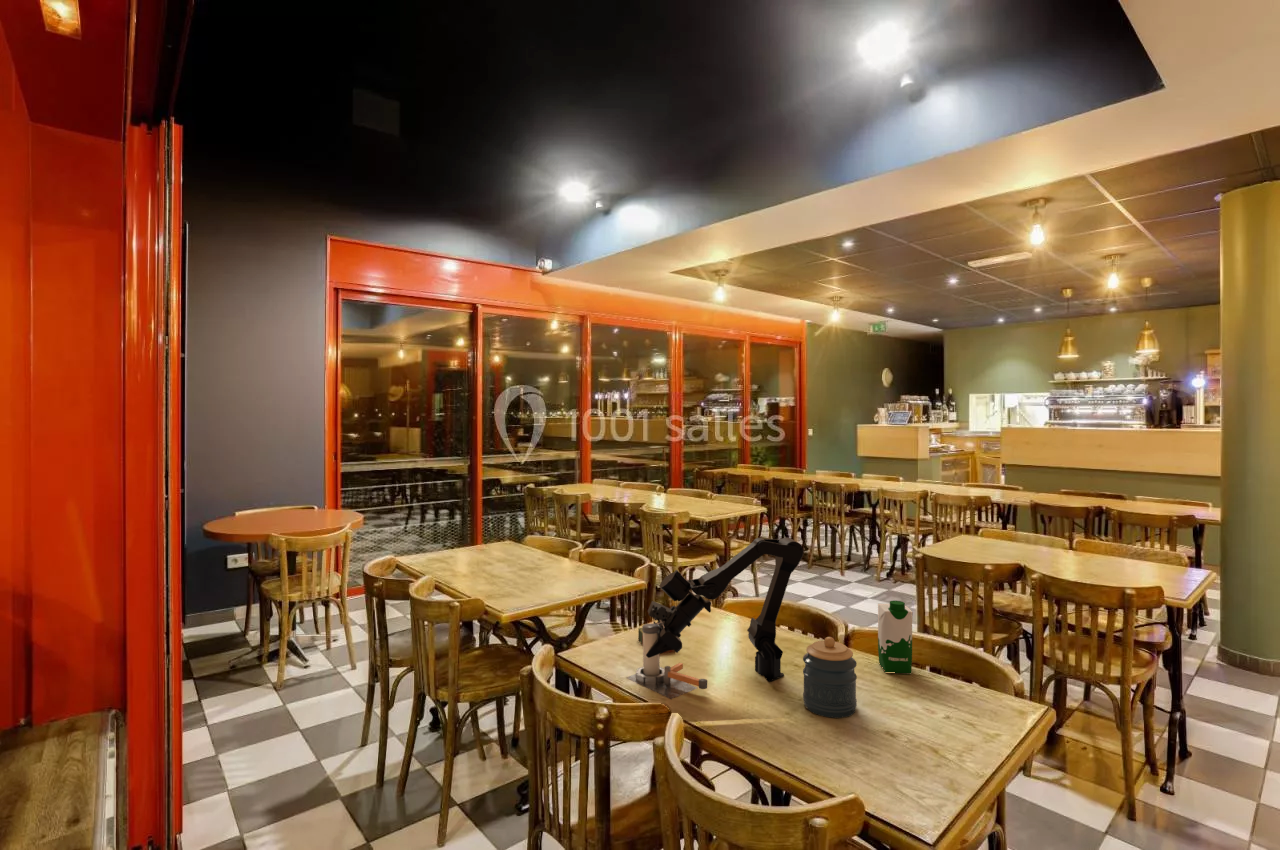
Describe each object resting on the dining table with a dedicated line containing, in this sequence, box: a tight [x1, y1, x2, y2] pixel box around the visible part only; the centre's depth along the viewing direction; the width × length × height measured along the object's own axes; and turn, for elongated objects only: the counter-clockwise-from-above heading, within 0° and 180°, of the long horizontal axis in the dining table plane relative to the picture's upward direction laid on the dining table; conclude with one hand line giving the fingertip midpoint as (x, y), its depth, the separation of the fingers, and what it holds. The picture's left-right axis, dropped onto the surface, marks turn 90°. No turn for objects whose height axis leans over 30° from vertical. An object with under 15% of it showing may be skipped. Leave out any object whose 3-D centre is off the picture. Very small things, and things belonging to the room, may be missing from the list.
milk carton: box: [877, 600, 914, 674], centre depth 182 cm, size 9×9×20 cm
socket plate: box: [625, 666, 698, 700], centre depth 171 cm, size 18×10×3 cm, turn 41°
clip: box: [664, 662, 708, 690], centre depth 169 cm, size 13×8×4 cm, turn 52°
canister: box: [802, 636, 858, 719], centre depth 158 cm, size 13×13×18 cm
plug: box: [641, 623, 661, 676], centre depth 174 cm, size 5×5×14 cm
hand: (646, 653), depth 174 cm, fingers closed on plug, 4 cm apart
